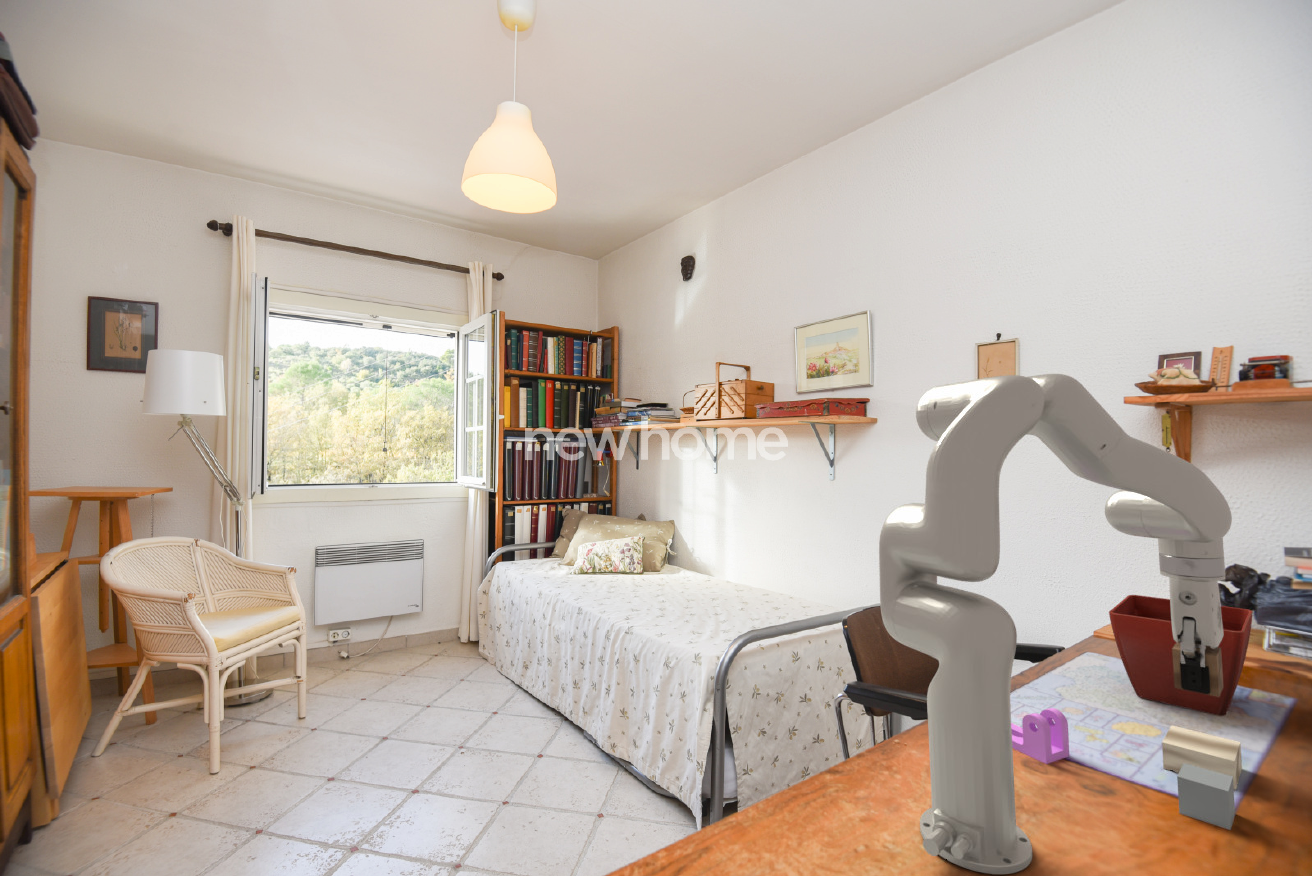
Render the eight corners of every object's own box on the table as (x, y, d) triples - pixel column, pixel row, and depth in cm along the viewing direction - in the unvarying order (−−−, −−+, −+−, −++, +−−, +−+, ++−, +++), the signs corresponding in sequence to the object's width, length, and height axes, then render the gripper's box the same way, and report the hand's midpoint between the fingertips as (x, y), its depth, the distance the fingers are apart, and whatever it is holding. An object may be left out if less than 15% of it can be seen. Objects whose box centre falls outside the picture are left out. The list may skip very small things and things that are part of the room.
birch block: (1236, 789, 85) (1234, 761, 85) (1163, 768, 91) (1162, 742, 91) (1242, 768, 90) (1240, 742, 91) (1172, 750, 97) (1171, 725, 97)
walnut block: (1219, 697, 88) (1216, 656, 88) (1174, 688, 91) (1172, 648, 92) (1223, 687, 91) (1220, 647, 91) (1180, 678, 95) (1177, 640, 95)
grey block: (1230, 830, 77) (1228, 791, 77) (1179, 814, 80) (1177, 776, 81) (1235, 814, 80) (1232, 776, 80) (1185, 798, 84) (1183, 762, 84)
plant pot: (1249, 730, 102) (1243, 631, 103) (1111, 698, 117) (1107, 611, 117) (1258, 697, 115) (1253, 609, 115) (1133, 672, 129) (1129, 594, 130)
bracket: (1069, 757, 96) (1067, 713, 96) (1046, 765, 94) (1044, 720, 94) (996, 724, 108) (994, 685, 108) (973, 730, 106) (972, 691, 106)
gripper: (1217, 579, 83) (1225, 710, 83) (1231, 560, 94) (1238, 676, 94) (1148, 572, 89) (1156, 695, 88) (1169, 555, 100) (1176, 665, 100)
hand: (1198, 684), depth 91 cm, fingers closed on walnut block, 4 cm apart
